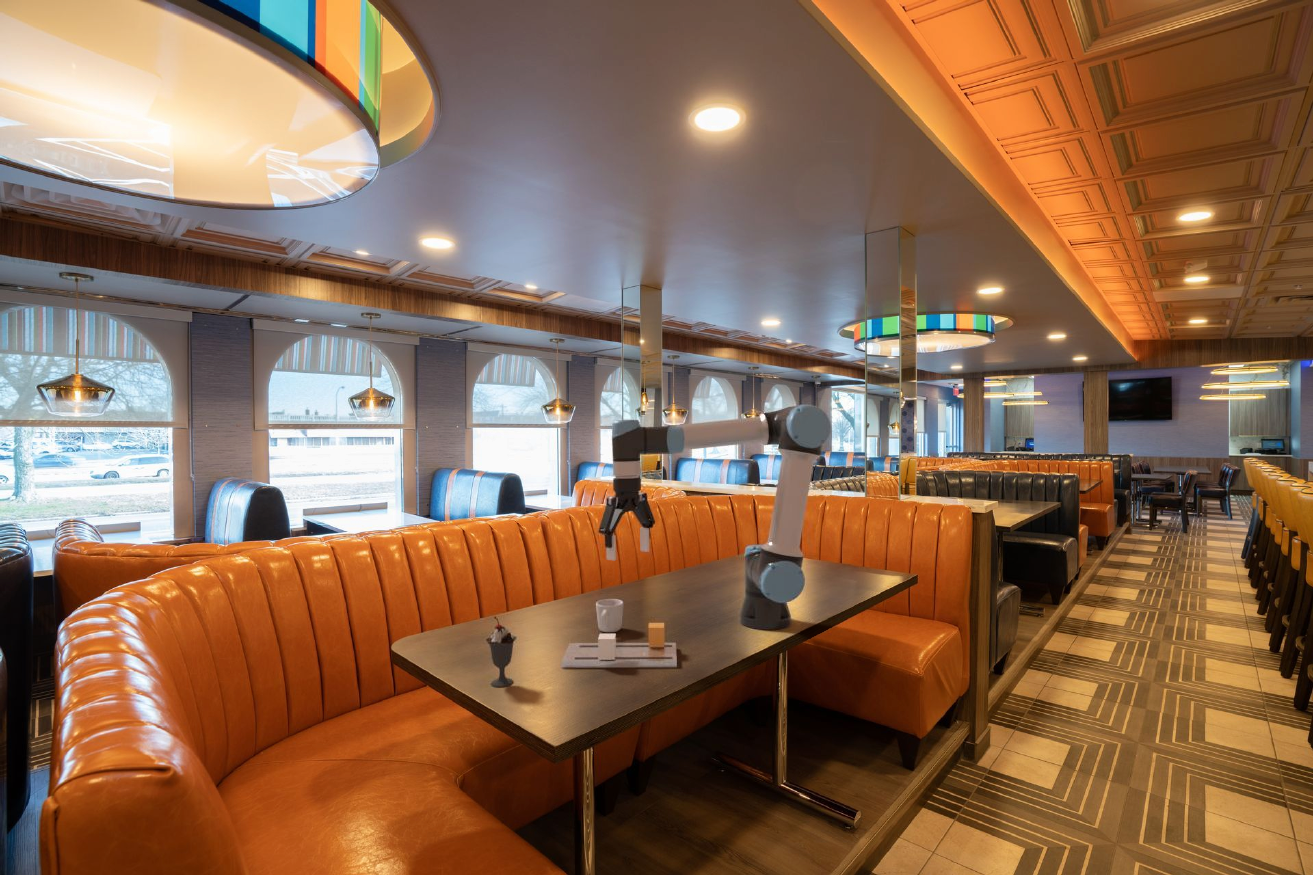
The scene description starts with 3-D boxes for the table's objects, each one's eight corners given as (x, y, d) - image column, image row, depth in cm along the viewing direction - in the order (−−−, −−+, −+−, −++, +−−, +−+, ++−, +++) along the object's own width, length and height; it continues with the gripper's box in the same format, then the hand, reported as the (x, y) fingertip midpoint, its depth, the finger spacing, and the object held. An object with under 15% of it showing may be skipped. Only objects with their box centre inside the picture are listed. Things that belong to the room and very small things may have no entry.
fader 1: (616, 653, 152) (615, 633, 152) (614, 659, 148) (614, 638, 148) (599, 653, 152) (599, 633, 152) (598, 659, 148) (598, 638, 148)
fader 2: (664, 641, 160) (664, 622, 160) (664, 647, 156) (664, 627, 156) (649, 641, 160) (648, 622, 160) (648, 647, 156) (648, 627, 156)
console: (675, 648, 161) (675, 642, 161) (676, 667, 148) (676, 660, 148) (569, 648, 161) (569, 642, 161) (561, 667, 148) (561, 660, 148)
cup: (617, 638, 169) (616, 609, 169) (589, 636, 170) (589, 608, 170) (626, 626, 179) (626, 599, 179) (600, 625, 181) (600, 598, 181)
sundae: (489, 677, 142) (488, 613, 142) (518, 676, 143) (518, 612, 143) (484, 689, 136) (483, 622, 135) (514, 688, 136) (514, 621, 136)
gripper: (646, 473, 177) (647, 546, 177) (583, 479, 158) (585, 561, 158) (666, 474, 172) (668, 549, 172) (604, 480, 153) (606, 565, 153)
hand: (628, 555), depth 165 cm, fingers open, 13 cm apart
